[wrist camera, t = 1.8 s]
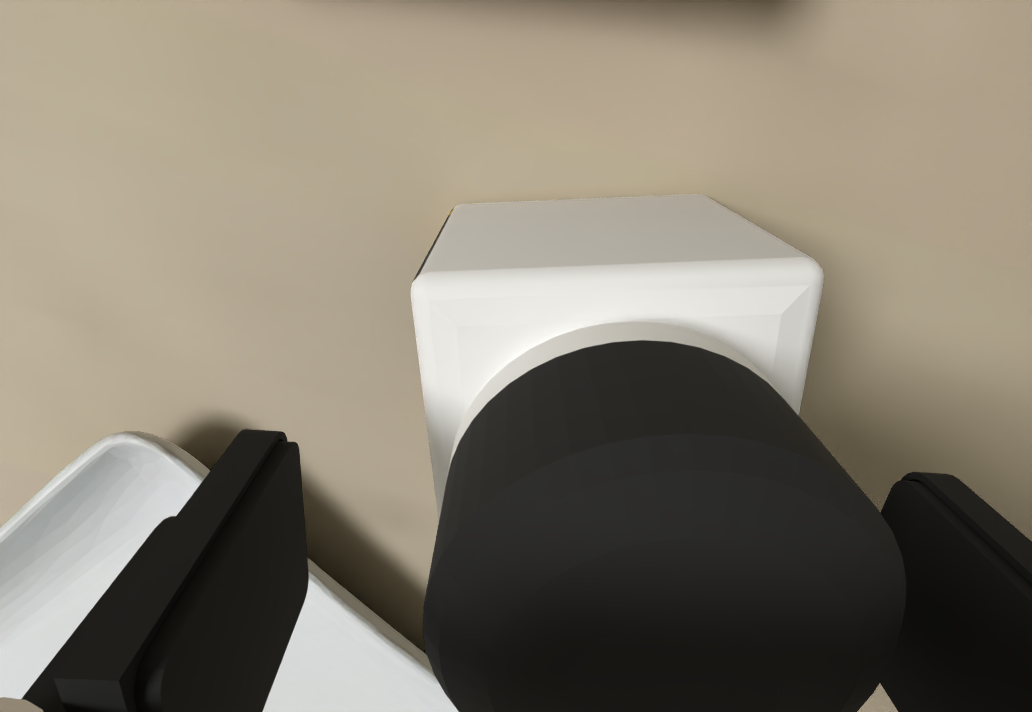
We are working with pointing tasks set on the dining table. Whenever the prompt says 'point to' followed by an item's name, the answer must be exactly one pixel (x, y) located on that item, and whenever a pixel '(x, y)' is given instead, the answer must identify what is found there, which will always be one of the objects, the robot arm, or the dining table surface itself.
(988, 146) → the dining table surface
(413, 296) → the medicine bottle
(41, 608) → the salad plate
